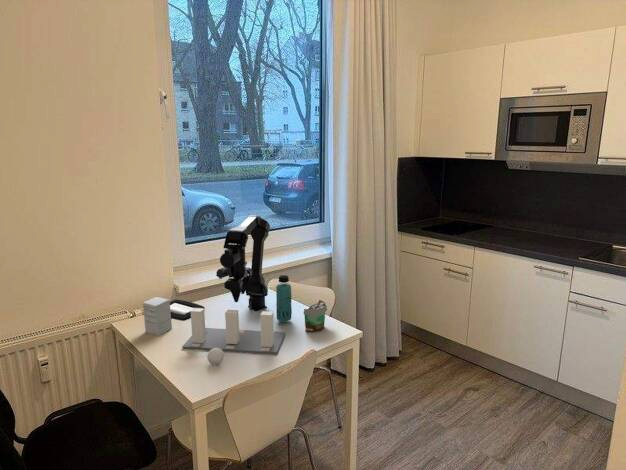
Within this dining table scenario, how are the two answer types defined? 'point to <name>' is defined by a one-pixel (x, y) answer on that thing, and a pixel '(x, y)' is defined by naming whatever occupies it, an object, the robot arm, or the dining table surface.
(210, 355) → the white sphere
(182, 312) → the light switch
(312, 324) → the food container
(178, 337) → the dining table surface
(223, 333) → the three pillar stand
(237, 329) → the block
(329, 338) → the dining table surface
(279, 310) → the beverage bottle
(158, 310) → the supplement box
